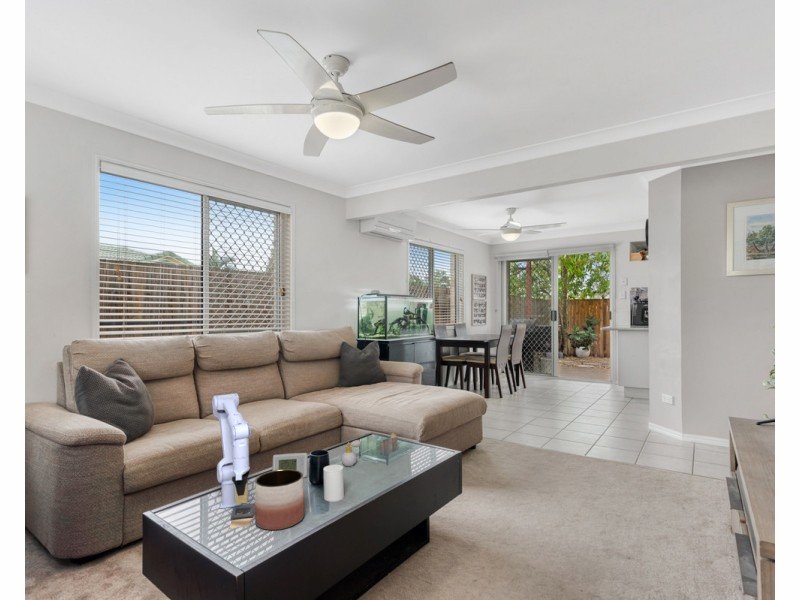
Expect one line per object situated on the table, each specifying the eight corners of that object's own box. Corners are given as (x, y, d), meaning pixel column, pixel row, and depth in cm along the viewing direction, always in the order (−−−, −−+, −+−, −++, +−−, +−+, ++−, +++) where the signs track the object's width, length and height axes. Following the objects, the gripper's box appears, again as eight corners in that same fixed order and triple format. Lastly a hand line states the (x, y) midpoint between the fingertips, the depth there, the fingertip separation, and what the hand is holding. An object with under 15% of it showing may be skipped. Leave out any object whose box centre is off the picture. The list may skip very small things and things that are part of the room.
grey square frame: (234, 510, 173) (234, 505, 173) (255, 507, 175) (255, 503, 175) (230, 521, 164) (230, 516, 164) (253, 518, 166) (253, 513, 166)
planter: (306, 527, 158) (305, 482, 158) (254, 535, 153) (253, 490, 153) (302, 506, 175) (302, 466, 175) (255, 513, 170) (255, 472, 170)
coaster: (231, 522, 163) (231, 520, 163) (251, 519, 165) (251, 517, 165) (229, 528, 158) (229, 526, 158) (249, 525, 160) (249, 524, 160)
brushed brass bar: (237, 499, 167) (236, 481, 167) (248, 498, 167) (247, 479, 168) (235, 504, 163) (235, 485, 163) (247, 502, 164) (246, 483, 164)
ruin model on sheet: (393, 449, 243) (392, 432, 243) (397, 450, 241) (397, 433, 241) (379, 455, 234) (379, 437, 234) (384, 456, 232) (383, 438, 233)
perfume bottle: (338, 466, 219) (337, 441, 219) (353, 460, 226) (352, 437, 226) (348, 469, 214) (347, 444, 214) (363, 464, 221) (362, 440, 221)
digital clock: (270, 481, 202) (269, 457, 202) (277, 473, 211) (276, 451, 211) (304, 481, 201) (304, 457, 201) (310, 473, 210) (309, 451, 210)
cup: (336, 491, 188) (335, 463, 188) (347, 496, 182) (347, 467, 183) (320, 497, 182) (319, 468, 183) (331, 503, 177) (331, 473, 177)
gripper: (232, 451, 172) (233, 486, 171) (226, 463, 157) (227, 502, 157) (251, 449, 173) (252, 484, 173) (247, 461, 159) (248, 499, 159)
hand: (241, 492), depth 165 cm, fingers closed on brushed brass bar, 4 cm apart
